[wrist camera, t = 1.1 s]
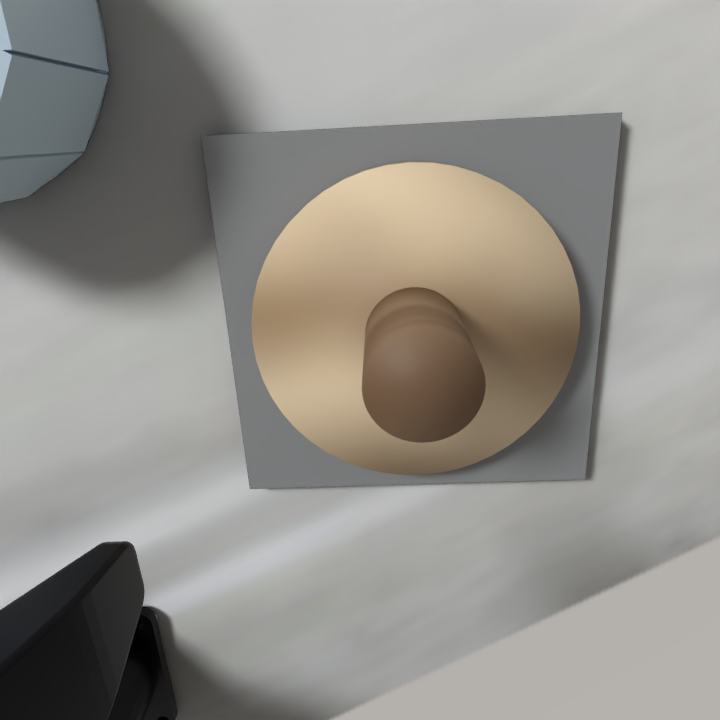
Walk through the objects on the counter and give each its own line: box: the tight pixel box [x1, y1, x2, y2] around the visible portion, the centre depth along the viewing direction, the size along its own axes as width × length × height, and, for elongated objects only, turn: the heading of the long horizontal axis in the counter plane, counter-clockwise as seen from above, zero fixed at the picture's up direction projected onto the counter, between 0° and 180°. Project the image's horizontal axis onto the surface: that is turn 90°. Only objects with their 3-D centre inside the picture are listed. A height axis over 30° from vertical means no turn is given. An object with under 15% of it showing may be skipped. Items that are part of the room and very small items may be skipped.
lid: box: [251, 161, 580, 475], centre depth 17 cm, size 10×10×5 cm
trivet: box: [201, 113, 622, 489], centre depth 19 cm, size 12×12×1 cm
